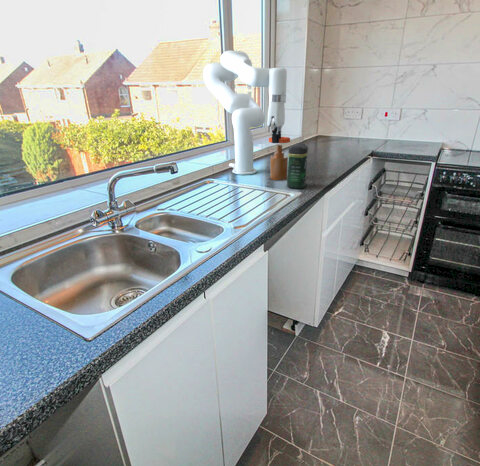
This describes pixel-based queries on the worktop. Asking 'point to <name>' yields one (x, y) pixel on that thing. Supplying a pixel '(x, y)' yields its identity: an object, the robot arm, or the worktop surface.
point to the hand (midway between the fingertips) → (276, 142)
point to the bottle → (278, 165)
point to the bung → (281, 140)
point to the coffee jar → (297, 166)
